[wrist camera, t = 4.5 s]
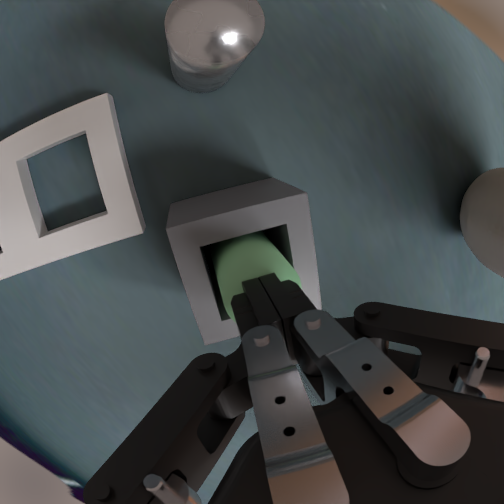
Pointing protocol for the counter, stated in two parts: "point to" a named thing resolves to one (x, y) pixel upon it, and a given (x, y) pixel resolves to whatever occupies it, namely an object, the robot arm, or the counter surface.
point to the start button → (247, 264)
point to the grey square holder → (233, 225)
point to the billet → (210, 40)
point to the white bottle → (485, 219)
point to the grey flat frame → (25, 200)
